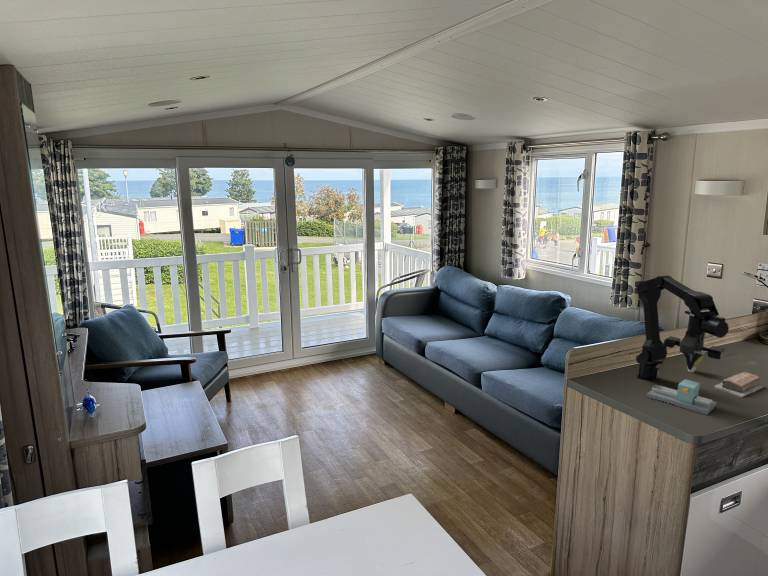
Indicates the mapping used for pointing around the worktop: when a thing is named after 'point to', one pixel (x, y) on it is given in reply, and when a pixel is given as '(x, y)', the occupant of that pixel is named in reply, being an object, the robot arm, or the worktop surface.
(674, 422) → the worktop surface
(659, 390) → the din rail
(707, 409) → the plate
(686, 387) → the block
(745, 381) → the packaged product
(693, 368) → the light bulb
